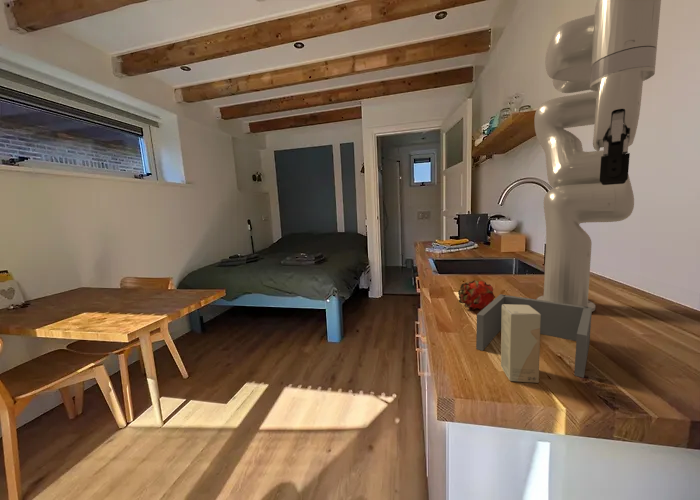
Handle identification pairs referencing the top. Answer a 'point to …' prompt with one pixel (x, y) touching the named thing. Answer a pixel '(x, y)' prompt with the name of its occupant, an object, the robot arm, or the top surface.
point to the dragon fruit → (476, 294)
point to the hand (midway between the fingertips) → (613, 183)
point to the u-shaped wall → (542, 324)
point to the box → (520, 342)
